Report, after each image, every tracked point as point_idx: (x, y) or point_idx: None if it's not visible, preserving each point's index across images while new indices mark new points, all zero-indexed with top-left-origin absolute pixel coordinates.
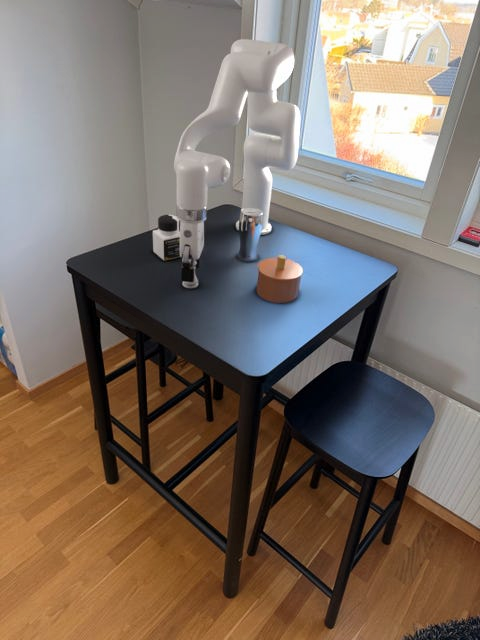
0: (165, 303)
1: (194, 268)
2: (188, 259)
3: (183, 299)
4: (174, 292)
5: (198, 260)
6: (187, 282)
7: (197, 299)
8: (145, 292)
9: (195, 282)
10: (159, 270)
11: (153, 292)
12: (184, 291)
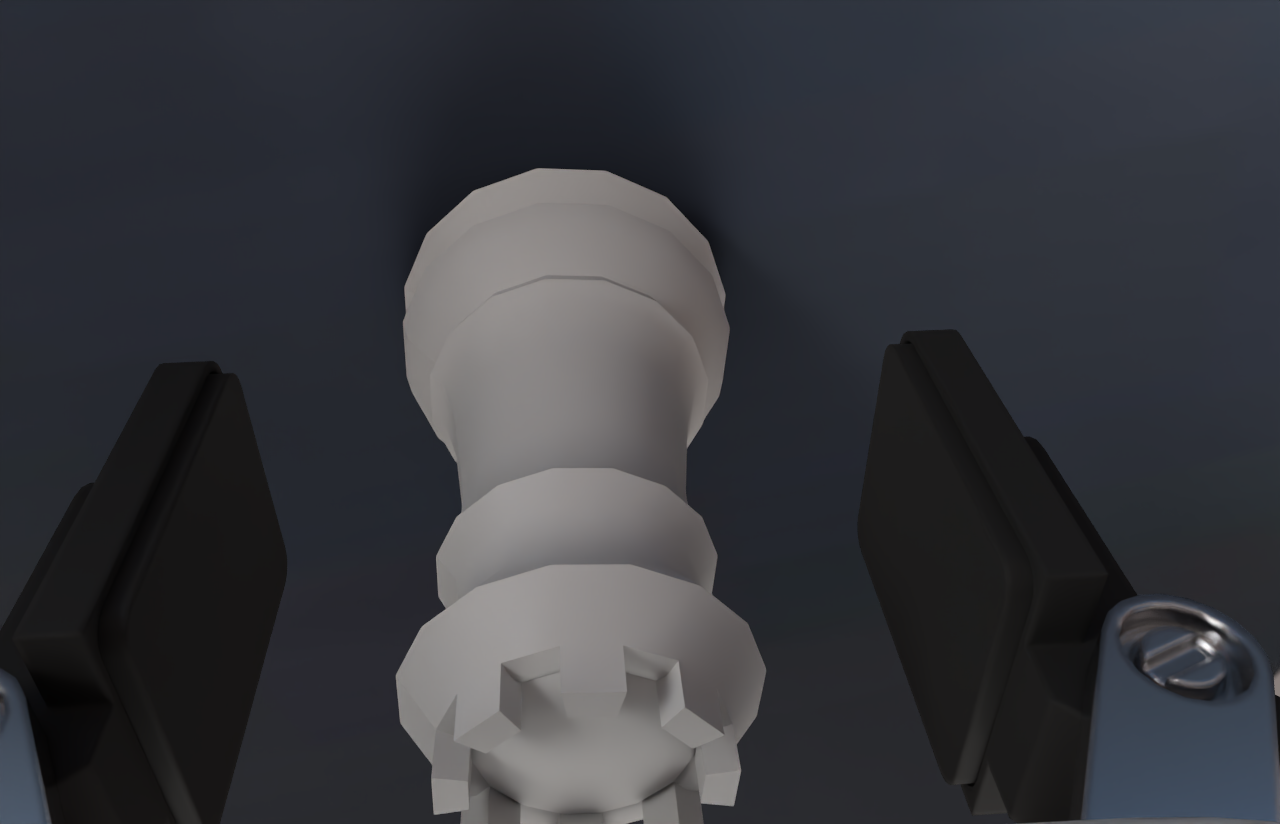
0: (1179, 497)
1: (630, 494)
2: (534, 805)
3: (1072, 298)
4: (856, 467)
5: (144, 514)
6: (712, 394)
7: (1077, 58)
8: (896, 741)
9: (663, 252)
10: (268, 765)
11: (886, 678)
12: (802, 341)
